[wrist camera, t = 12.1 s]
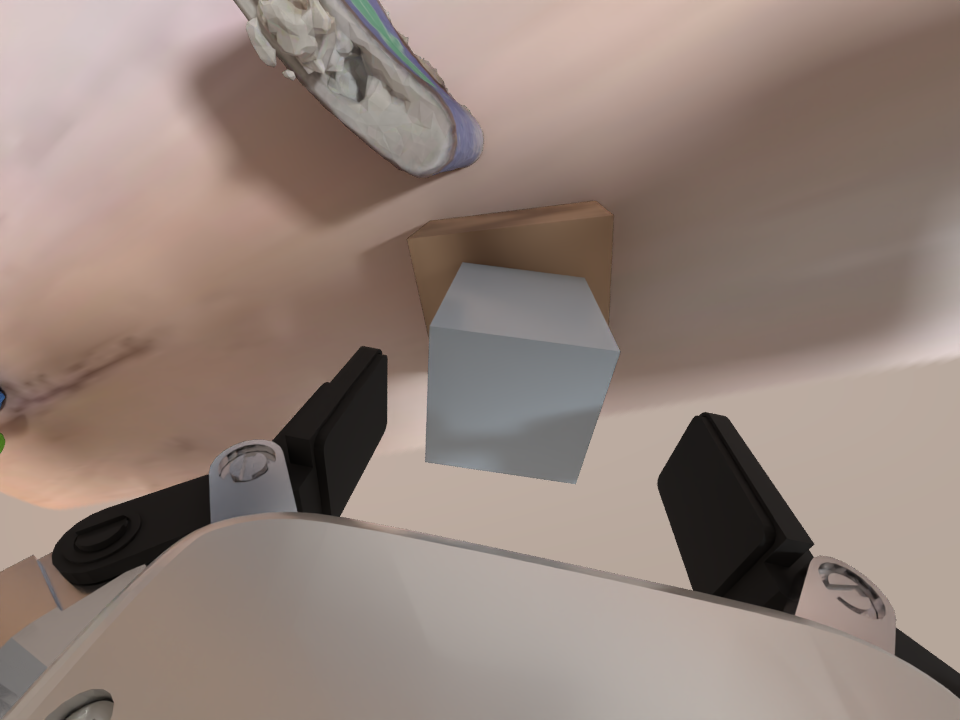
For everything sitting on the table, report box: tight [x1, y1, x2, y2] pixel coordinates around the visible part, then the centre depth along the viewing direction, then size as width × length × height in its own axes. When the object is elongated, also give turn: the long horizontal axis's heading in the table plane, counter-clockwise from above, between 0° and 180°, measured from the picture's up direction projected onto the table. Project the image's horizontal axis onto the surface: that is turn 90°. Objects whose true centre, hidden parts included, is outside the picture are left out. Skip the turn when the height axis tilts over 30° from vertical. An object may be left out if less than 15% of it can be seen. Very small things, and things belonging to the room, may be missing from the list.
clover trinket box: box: [234, 0, 484, 177], centre depth 13 cm, size 9×3×11 cm, turn 43°
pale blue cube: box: [425, 262, 621, 484], centre depth 15 cm, size 6×6×7 cm
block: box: [407, 201, 614, 337], centre depth 20 cm, size 9×9×5 cm
